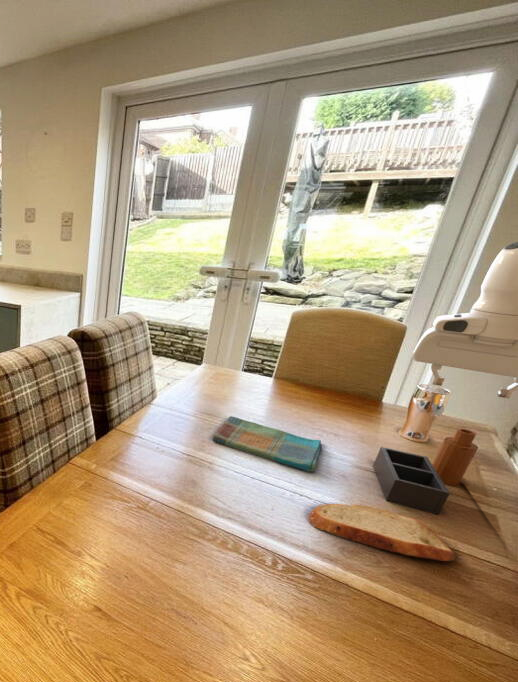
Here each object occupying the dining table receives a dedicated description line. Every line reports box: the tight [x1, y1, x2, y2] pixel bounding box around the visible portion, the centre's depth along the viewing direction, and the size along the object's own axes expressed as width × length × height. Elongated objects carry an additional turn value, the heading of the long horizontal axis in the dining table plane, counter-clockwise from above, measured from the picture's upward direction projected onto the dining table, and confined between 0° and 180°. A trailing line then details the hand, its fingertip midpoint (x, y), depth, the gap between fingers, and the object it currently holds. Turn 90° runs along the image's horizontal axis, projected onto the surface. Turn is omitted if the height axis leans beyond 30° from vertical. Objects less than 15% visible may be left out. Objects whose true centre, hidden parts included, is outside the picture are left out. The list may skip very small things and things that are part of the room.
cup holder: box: [372, 446, 450, 516], centre depth 90 cm, size 8×16×6 cm, turn 147°
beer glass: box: [398, 384, 452, 443], centre depth 110 cm, size 7×7×15 cm
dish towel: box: [212, 415, 323, 473], centre depth 108 cm, size 17×23×2 cm
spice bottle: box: [431, 428, 479, 487], centre depth 92 cm, size 5×5×13 cm
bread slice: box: [307, 503, 455, 562], centre depth 76 cm, size 18×18×4 cm
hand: (468, 390), depth 82 cm, fingers open, 8 cm apart
